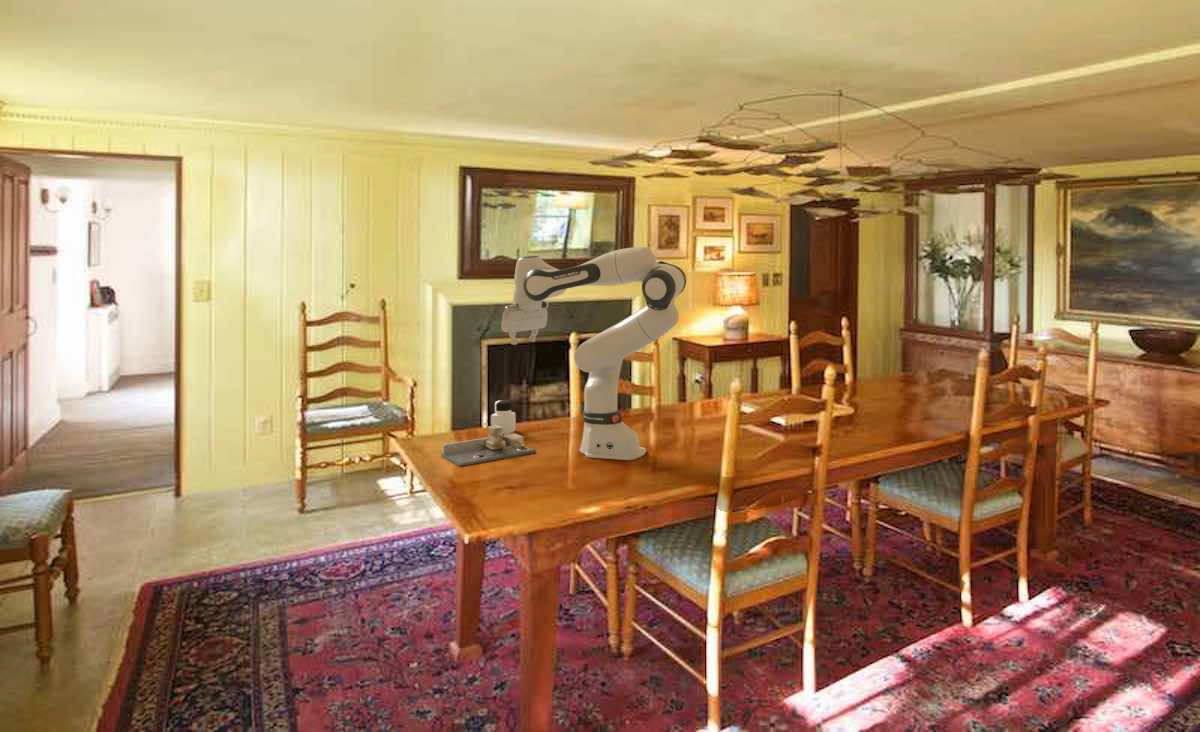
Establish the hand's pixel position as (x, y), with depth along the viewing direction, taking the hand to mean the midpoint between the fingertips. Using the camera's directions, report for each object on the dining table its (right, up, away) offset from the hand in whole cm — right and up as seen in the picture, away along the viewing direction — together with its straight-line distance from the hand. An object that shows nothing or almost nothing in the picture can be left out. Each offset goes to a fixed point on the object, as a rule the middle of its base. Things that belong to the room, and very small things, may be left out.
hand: (523, 342), depth 257 cm
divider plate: (-11, -38, -7) cm, 40 cm away
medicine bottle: (-10, -33, +23) cm, 41 cm away
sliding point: (-8, -36, -5) cm, 37 cm away
